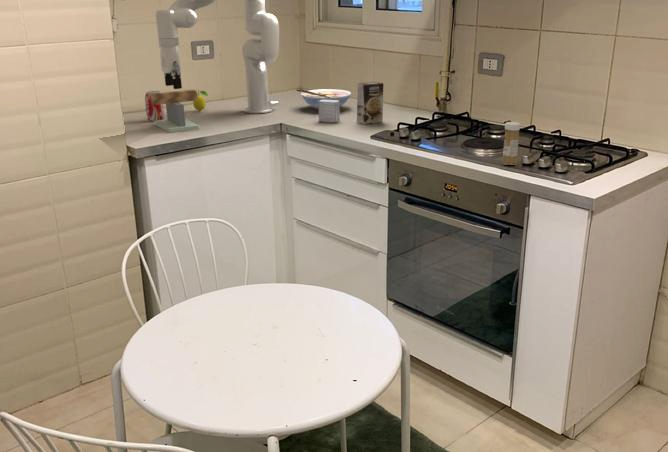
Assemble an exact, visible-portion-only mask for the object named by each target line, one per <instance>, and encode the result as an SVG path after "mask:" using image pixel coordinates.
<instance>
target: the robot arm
mask: <svg viewBox="0 0 668 452" xmlns="http://www.w3.org/2000/svg"><path fill="white" fill-rule="evenodd" d="M216 1H217V0H175V1H174V2H173V3H172V4H171V5H170V6H169V7H168V9H166V8H165V9H158V10H156V11H155V21H156V28H157V29H156V30H157V31H156V32H157V37H158V45H159V48H160V49H159V50H160V51H159V52H160V66H161V67H160V68H161V71H162V72H163V75H164V82H165V83H164V84H165V86H166V87H169V86H173V89H174V90H181V89H182V88H183V86H182V85H183V84H182V76H181V74H182V73H181V61H180V54H179V49H178V48H179V47H180V44H179V43H180V42H179V33H178V28H181V29H190V28H193V27H194V26H196V24H197V22H198V14H197V13H196V10H198V9H201V8H205V7H208V6H210V5H212V4H214V3H215V2H216ZM244 7H245V8H244V9H245V11H244V12H245V14H244V16H245V17H244V18H245V20H244V25H245V30H246V32H247V33H248V34H249V35H251V36H256V37H260V38H250V39H247V40H246V41H244V43H243V45H242V47H241V53H242V57H243V63H244V68H245V83H246V99H247V104H246V105H247V107H246V108H244V109H243V111H244V112H245V113H246V114H256V115H257V114H267V113H271V112H272V111H273V107H275V106H279V104H280V103H279V101H277V100H276V101H275V100H274V101H272V100H269V81H268V69H267V65H266V64H267V63H273V62H275V61H276V60H277V59H278V57H279V53H280V52H279V50H280V25H279V20H278V19H277V17H276V16H275V15H274V14H272V13H268V12H266V1H265V0H244Z"/></svg>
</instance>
